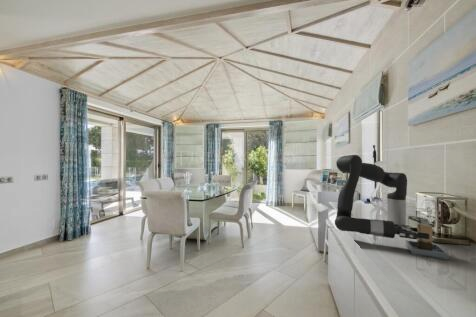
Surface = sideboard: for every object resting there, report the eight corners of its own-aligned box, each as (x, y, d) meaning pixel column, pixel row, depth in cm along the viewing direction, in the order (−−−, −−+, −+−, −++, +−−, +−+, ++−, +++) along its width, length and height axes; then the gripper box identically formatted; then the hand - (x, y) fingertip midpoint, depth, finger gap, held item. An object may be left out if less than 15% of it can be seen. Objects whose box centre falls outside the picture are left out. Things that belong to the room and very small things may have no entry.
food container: (436, 242, 108) (435, 221, 108) (421, 241, 109) (421, 221, 109) (420, 234, 120) (420, 216, 120) (407, 233, 121) (407, 215, 121)
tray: (405, 245, 103) (405, 240, 103) (438, 250, 97) (437, 244, 97) (411, 254, 92) (411, 248, 92) (448, 260, 87) (448, 253, 87)
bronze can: (416, 247, 98) (415, 223, 99) (430, 249, 96) (430, 224, 96) (419, 251, 94) (419, 225, 94) (434, 254, 92) (434, 227, 92)
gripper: (383, 223, 96) (431, 229, 89) (379, 217, 109) (421, 221, 101) (383, 241, 96) (431, 247, 89) (379, 232, 109) (421, 237, 101)
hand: (425, 233), depth 95 cm, fingers open, 8 cm apart
